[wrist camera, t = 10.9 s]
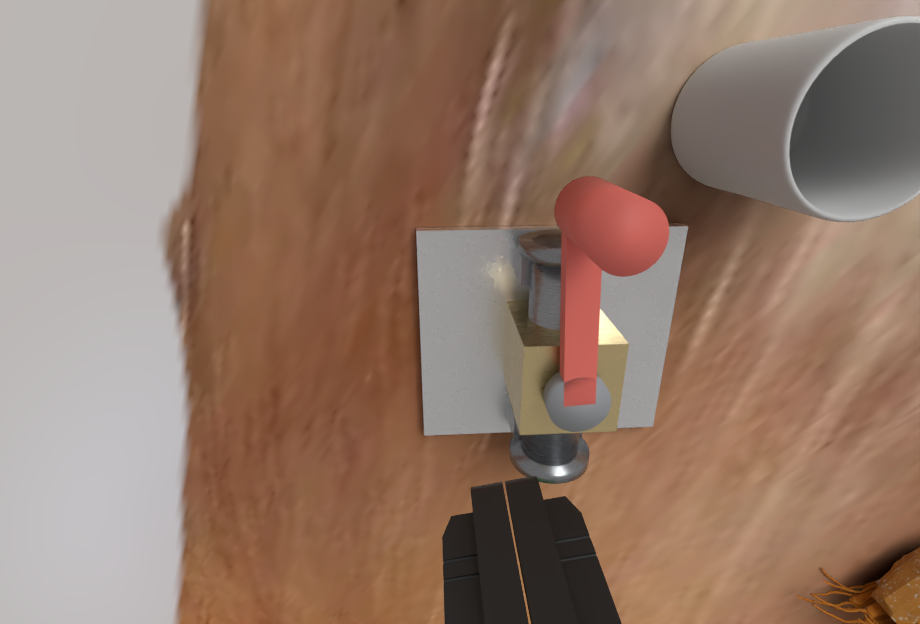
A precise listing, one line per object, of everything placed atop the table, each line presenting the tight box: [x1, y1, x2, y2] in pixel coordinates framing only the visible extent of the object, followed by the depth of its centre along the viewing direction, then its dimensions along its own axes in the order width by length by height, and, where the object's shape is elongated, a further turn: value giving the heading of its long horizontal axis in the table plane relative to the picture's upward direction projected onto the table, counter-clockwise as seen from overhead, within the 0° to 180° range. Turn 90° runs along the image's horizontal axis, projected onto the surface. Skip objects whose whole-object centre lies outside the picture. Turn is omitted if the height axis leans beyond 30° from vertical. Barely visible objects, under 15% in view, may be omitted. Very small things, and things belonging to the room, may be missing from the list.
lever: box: [543, 176, 669, 432], centre depth 24 cm, size 14×4×7 cm, turn 4°
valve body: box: [416, 223, 688, 484], centre depth 33 cm, size 16×18×8 cm
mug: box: [671, 16, 920, 222], centre depth 27 cm, size 12×8×11 cm
